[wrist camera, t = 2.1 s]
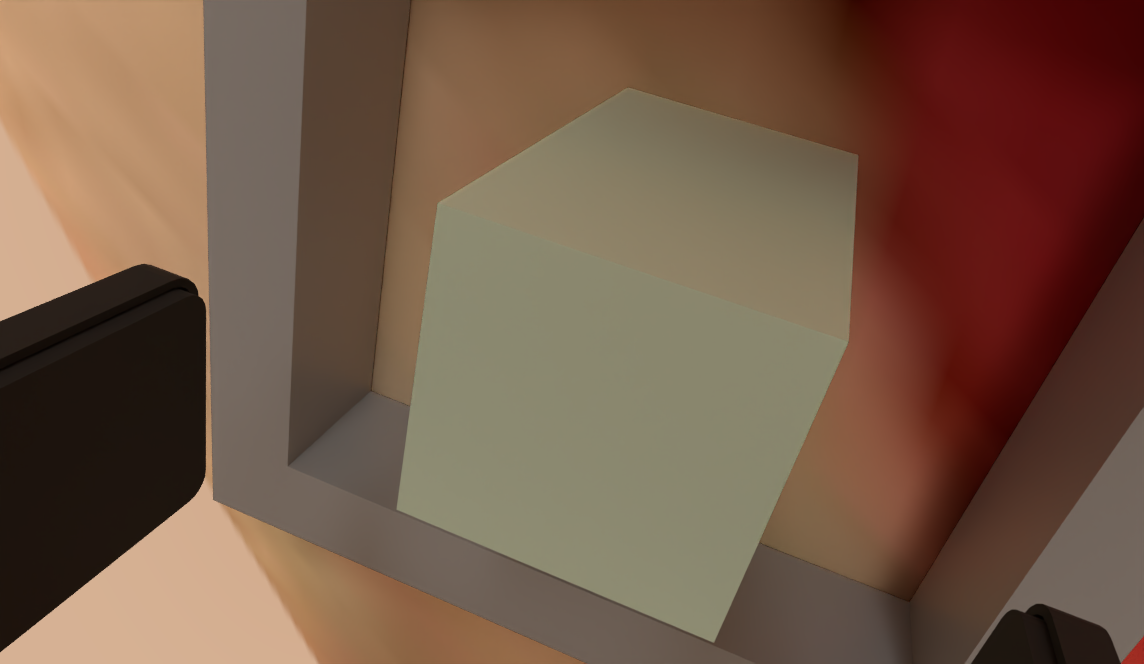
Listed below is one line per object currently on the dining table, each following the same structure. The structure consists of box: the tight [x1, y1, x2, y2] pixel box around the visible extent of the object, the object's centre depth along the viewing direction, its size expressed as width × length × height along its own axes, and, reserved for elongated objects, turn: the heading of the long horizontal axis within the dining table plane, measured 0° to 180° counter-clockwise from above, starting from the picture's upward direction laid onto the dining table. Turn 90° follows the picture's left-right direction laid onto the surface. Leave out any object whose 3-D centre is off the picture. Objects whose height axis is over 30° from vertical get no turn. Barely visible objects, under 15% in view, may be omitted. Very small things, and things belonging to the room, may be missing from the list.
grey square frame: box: [203, 0, 1144, 664], centre depth 15 cm, size 18×18×4 cm
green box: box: [396, 87, 858, 643], centre depth 13 cm, size 4×4×8 cm
